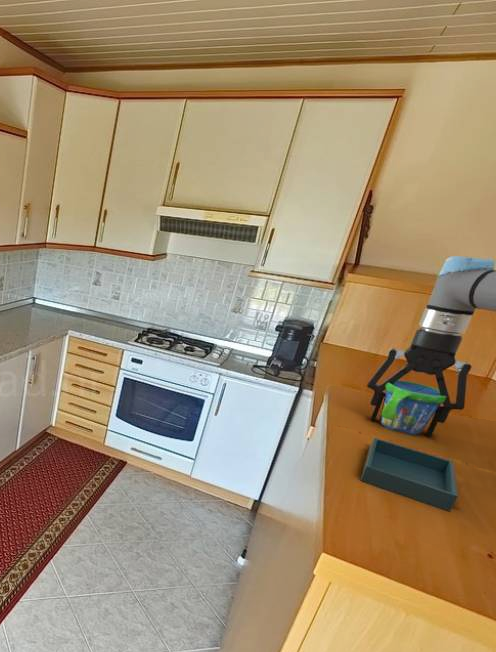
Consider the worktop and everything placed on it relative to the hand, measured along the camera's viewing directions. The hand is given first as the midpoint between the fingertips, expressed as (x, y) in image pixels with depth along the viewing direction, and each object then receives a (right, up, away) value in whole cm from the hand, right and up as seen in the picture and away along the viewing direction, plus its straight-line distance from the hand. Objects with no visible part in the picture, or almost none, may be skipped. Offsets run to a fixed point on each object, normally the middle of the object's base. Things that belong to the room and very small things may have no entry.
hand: (400, 426), depth 111 cm
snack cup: (0, -1, 0) cm, 1 cm away
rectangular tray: (-18, -8, -22) cm, 29 cm away
